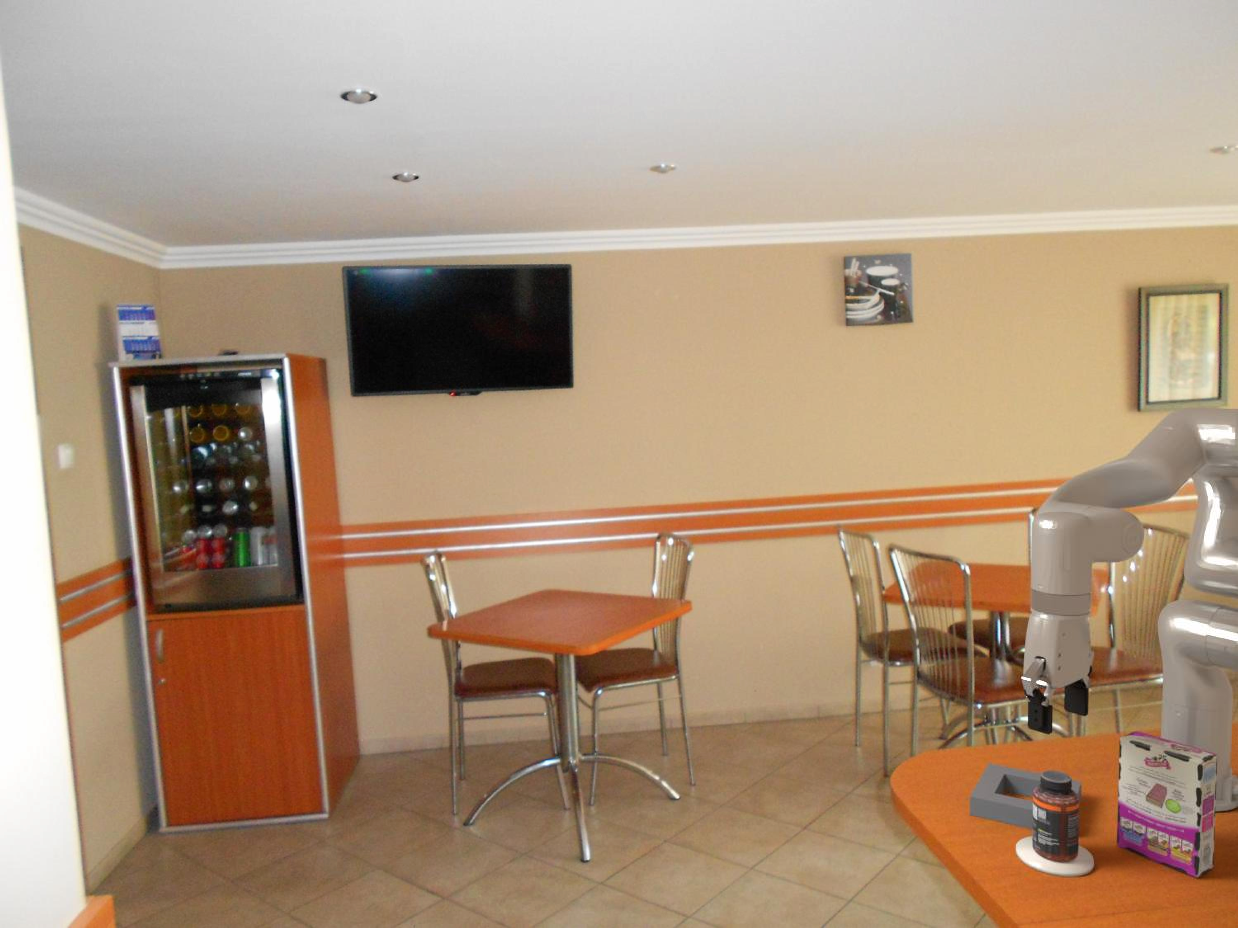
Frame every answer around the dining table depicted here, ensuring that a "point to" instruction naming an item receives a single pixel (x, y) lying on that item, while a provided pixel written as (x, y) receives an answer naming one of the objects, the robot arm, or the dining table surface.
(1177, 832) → the candy bar box
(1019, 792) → the socket block
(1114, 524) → the robot arm
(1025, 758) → the dining table surface
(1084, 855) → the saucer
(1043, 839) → the supplement bottle
